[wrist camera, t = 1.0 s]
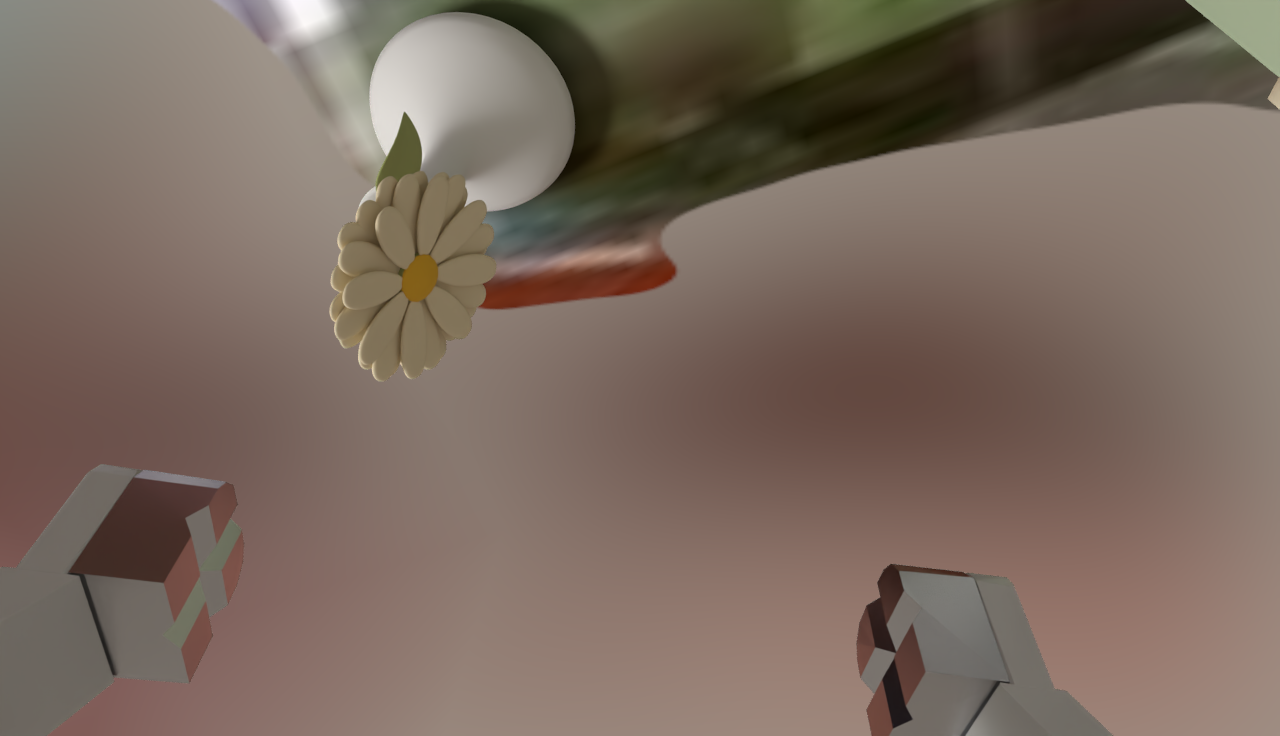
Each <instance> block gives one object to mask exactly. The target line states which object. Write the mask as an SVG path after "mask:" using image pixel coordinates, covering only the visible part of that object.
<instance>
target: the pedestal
mask: <svg viewBox="0 0 1280 736" xmlns="http://www.w3.org/2000/svg"><path fill="white" fill-rule="evenodd" d="M1186 1H1187V2H1188V3H1189V4H1191V5H1192V6H1193V7H1194V8H1195V9H1197V10H1198V11H1199V12H1200V13H1201V14H1203V15H1204V16H1205V17H1206V18H1208V19H1209V20H1210V21H1211V22H1212V23H1214V24H1215V25H1216V26H1217V27H1218V28H1220V29H1221V30H1222V31H1223V32H1225V33H1226V34H1227V35H1228V36H1229V37H1231V38H1232V39H1233V40H1234V41H1236V42H1237V43H1238V44H1239V45H1240V46H1242V47H1243V48H1244V49H1245V50H1246V51H1248V52H1249V53H1250V54H1251V55H1253V56H1254V57H1255V58H1256V59H1257V60H1259V61H1260V62H1261V63H1262V64H1263V65H1265V66H1266V67H1267V68H1268V69H1270V70H1271V71H1272V72H1273V73H1274V74H1276V75H1277V76H1278V77H1280V0H1186Z"/></svg>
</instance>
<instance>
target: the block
mask: <svg viewBox="0 0 1280 736" xmlns="http://www.w3.org/2000/svg"><path fill="white" fill-rule="evenodd" d="M1268 100H1270V101H1271V102H1272V103H1273V104H1274V105H1275V106H1276V107H1278V108H1279V109H1280V77H1279V79H1278V80H1277V82H1276V84H1275V86H1274V88H1273V89H1272V91H1271V93H1270V95H1269V97H1268Z"/></svg>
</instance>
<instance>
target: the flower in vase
mask: <svg viewBox="0 0 1280 736" xmlns="http://www.w3.org/2000/svg"><path fill="white" fill-rule="evenodd" d="M370 109H371V116H372V122H373V126H374V129H375V133H376V136H377V138H378V140H379V143H380V145H381V147H382V149H383V151H384V152H385V154H386V156H387V157H386V159H385V161H384V163H383V165H382V167H381V169H380V171H379V173H378V176H377V179H376V186H375V187H374V188H372V189H371V190H370V191H369V192H368V193H366V195H365V196H364V197H363V199H362V201H361V203H360V205H359V208H358V210H357V213H356V223H355V222H350V223H347V224H345V225H344V226H343V228H342V229H341V231H340V233H339V235H338V239H337V240H338V246H339V248H340V250H341V253H340V255H339V258H338V265H337V266H336V267H335V269H334V270H333V272H332V275H331V285H332V287H333V288H334V289H335V290H336V291H339V292H340V293H339V294H338V295H337V296H336V297H335V298H334V300H333V301H332V303H331V306H330V316H331V319H332V320H333V321H334V322H335V327H334V331H335V336H336V337H337V339H339V340H340V344H341V345H342V347H344V348H350V347H352V346H354V345H356V344H357V343H359V342H360V341H361V342H360V347H359V353H358V361H359V364H360V366H361V367H362V368H364V369H366V370H367V369H370V368H372V373H373V376H374V378H375V379H376V380H377V381H380V382H382V381H386V380H387V379H389V377H390V376H391V375H393V374H394V373H395V372H396V370H397V368H398V366H399V364H401V366H402V368H403V370H404V373H405V375H406V376H407V377H408V378H409V379H414V378H417V377H418V376H419V375H421V373H422V372H423V369H427V370H429V369H432V368H434V367H435V366H436V365H437V364H438V363H439V361H440V359H441V358H442V357H443V356H444V354H445V351H446V340H448V341H451V340H454V339H455V338H456V339H463V338H465V337H466V336H467V335H468V334H469V332H470V331H471V327H472V321H471V317H472V316H473V315H474V313H475V311H476V307H478V306H480V305H481V304H482V303H483V302H484V300H485V296H486V290H485V287H484V286H483V284H482V283H485V282H487V281H489V280H490V279H492V277H493V276H494V274H495V272H496V262H495V260H494V259H493V258H491V257H489V256H486V255H484V254H485V252H486V250H487V247H488V246H489V245H490V244H491V242H492V241H493V238H494V231H493V228H492V226H490V225H489V224H482V222H483V220H484V218H485V216H486V213H487V211H497V210H504V209H508V208H511V207H515V206H517V205H520V204H522V203H524V202H527V201H529V200H531V199H532V198H534V197H536V196H537V195H539V194H541V193H542V192H543V191H544V190H546V189H547V188H548V187H549V186H550V185H551V184H552V183H553V182H554V181H555V180H556V179H557V178H558V176H559V175H560V173H561V172H562V170H563V169H564V167H565V165H566V163H567V161H568V159H569V157H570V153H571V150H572V147H573V142H574V135H575V117H574V109H573V104H572V100H571V97H570V93H569V91H568V88H567V86H566V83H565V81H564V79H563V77H562V76H561V74H560V72H559V70H558V69H557V67H556V66H555V64H554V63H553V62H552V60H551V59H550V58H549V56H548V55H547V54H546V53H545V52H544V51H543V50H542V49H541V48H540V47H539V46H538V45H537V44H536V43H535V42H533V41H532V40H531V39H530V38H529V37H528V36H526V35H525V34H523V33H521V32H520V31H518V30H517V29H515V28H514V27H512V26H510V25H508V24H506V23H504V22H502V21H499V20H496V19H493V18H490V17H488V16H483V15H479V14H474V13H464V12H448V13H440V14H435V15H430V16H428V17H425V18H422V19H419V20H417V21H415V22H413V23H411V24H409V25H408V26H406V27H405V28H403V29H402V30H401V31H399V32H398V33H397V34H396V35H395V36H394V37H393V38H392V39H391V40H390V41H389V42H388V43H387V44H386V46H385V47H384V49H383V50H382V52H381V53H380V55H379V57H378V59H377V62H376V64H375V66H374V70H373V73H372V76H371V83H370Z"/></svg>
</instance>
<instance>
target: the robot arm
mask: <svg viewBox="0 0 1280 736" xmlns="http://www.w3.org/2000/svg"><path fill="white" fill-rule="evenodd" d="M237 505H238V503H237V498H236V494H235V489H234V485H233V484H230V483H227V482H222V481H216V480H209V479H202V478H196V477H188V476H182V475H175V474H169V473H161V472H155V471H149V470H138V469H131V468H124V467H117V466H110V465H103V464H101V465H99V466H98V467H96V468H94V469H93V470H91V471H90V472H88V473H87V475H86V476H85V477H84V479H83V480H82V481H81V482H80V484H79V485H78V486H77V488H76V489H75V490H74V492H73V493H72V494H71V496H70V497H69V498H68V500H67V501H66V502H65V504H64V505H63V506H62V508H61V509H60V510H59V512H58V513H57V514H56V515H55V517H54V518H53V519H52V521H51V522H50V523H49V525H48V526H47V527H46V529H45V530H44V531H43V533H42V534H41V535H40V537H39V538H38V539H37V541H36V542H35V543H34V545H33V546H32V547H31V549H30V550H29V551H28V552H27V554H26V555H25V557H24V558H23V559H22V561H21V562H20V563H19V565H18V566H17V567H16V568H10V567H1V568H0V736H47V735H48V734H50V733H51V732H52V731H53V730H55V729H56V728H57V727H58V726H59V725H61V724H62V723H63V722H65V721H66V720H67V719H68V718H70V717H71V716H72V715H73V714H74V713H76V712H77V711H78V710H80V709H81V708H82V707H83V706H85V705H86V704H87V703H88V702H90V701H91V700H92V699H93V698H95V697H96V696H97V695H98V694H100V693H101V692H102V691H103V690H105V689H106V688H107V687H108V686H110V685H111V684H112V683H113V682H114V678H113V677H117V678H129V679H141V680H153V681H166V682H178V683H190V681H191V679H192V677H193V675H194V673H195V671H196V669H197V667H198V665H199V663H200V661H201V659H202V657H203V655H204V653H205V651H206V649H207V647H208V645H209V643H210V641H211V639H212V637H213V634H212V629H211V624H210V619H209V617H211V616H212V615H214V614H215V613H217V612H218V611H220V610H221V609H223V608H224V607H226V606H227V605H228V604H229V602H230V600H231V597H232V595H233V593H234V591H235V589H236V587H237V584H238V580H239V576H240V572H241V568H242V564H243V558H244V540H243V533H242V529H241V528H240V527H239V526H238V525H236V524H235V523H234V522H233V521H232V520H231V519H230V518H231V516H232V514H233V512H234V511H235V509H236V507H237ZM877 584H878V588H879V593H880V598H878V599H877V600H875V601H873V602H872V603H870V604H868V605H867V606H866V608H865V611H864V613H863V615H862V618H861V620H860V623H859V629H858V637H857V662H858V667H859V673H860V678H861V679H862V680H863V681H864V683H865V684H866V685H867V686H868V687H869V688H870V689H871V691H872V692H873V693H874V696H873V698H872V700H871V702H870V704H869V706H868V708H867V715H868V720H869V724H870V730H871V735H872V736H1113V735H1112V734H1111V733H1110V732H1109V731H1108V730H1107V729H1106V728H1105V727H1104V726H1103V725H1102V724H1101V723H1100V722H1099V721H1098V720H1096V719H1095V718H1094V717H1093V716H1092V715H1091V714H1090V713H1089V712H1088V711H1087V710H1086V709H1085V708H1084V707H1083V706H1082V705H1081V704H1080V703H1079V702H1078V701H1077V700H1075V699H1074V698H1073V697H1072V696H1071V695H1070V694H1069V693H1068V692H1067V691H1065V690H1058V689H1055V688H1054V686H1053V683H1052V681H1051V678H1050V676H1049V673H1048V671H1047V668H1046V666H1045V663H1044V661H1043V658H1042V656H1041V653H1040V650H1039V648H1038V646H1037V643H1036V641H1035V638H1034V635H1033V633H1032V631H1031V628H1030V625H1029V623H1028V620H1027V618H1026V615H1025V613H1024V611H1023V608H1022V605H1021V603H1020V600H1019V597H1018V595H1017V592H1016V590H1015V587H1014V585H1013V584H1012V582H1010V580H1009V579H1007V578H1006V577H999V576H991V575H981V574H974V573H964V572H959V571H950V570H941V569H932V568H923V567H915V566H906V565H897V564H890V565H889V566H887V567H886V568H885V569H884V570H883V572H882V574H881V576H880V578H879V580H878V582H877Z"/></svg>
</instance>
